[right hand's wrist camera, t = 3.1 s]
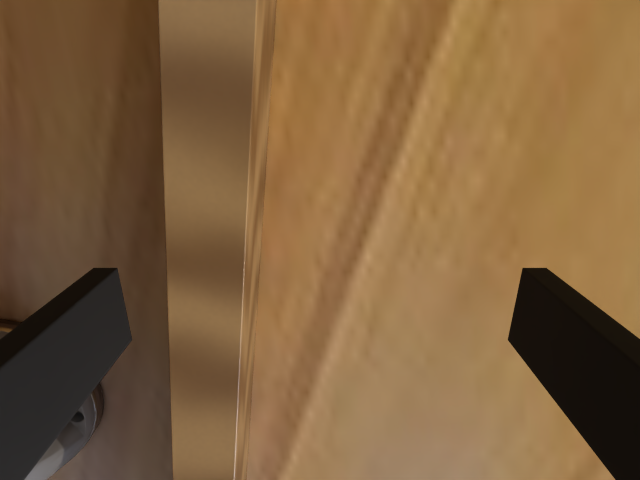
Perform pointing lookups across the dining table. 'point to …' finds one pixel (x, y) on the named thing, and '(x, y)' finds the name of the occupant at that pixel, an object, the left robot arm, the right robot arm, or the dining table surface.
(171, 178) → the beam
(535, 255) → the dining table surface
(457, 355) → the dining table surface
